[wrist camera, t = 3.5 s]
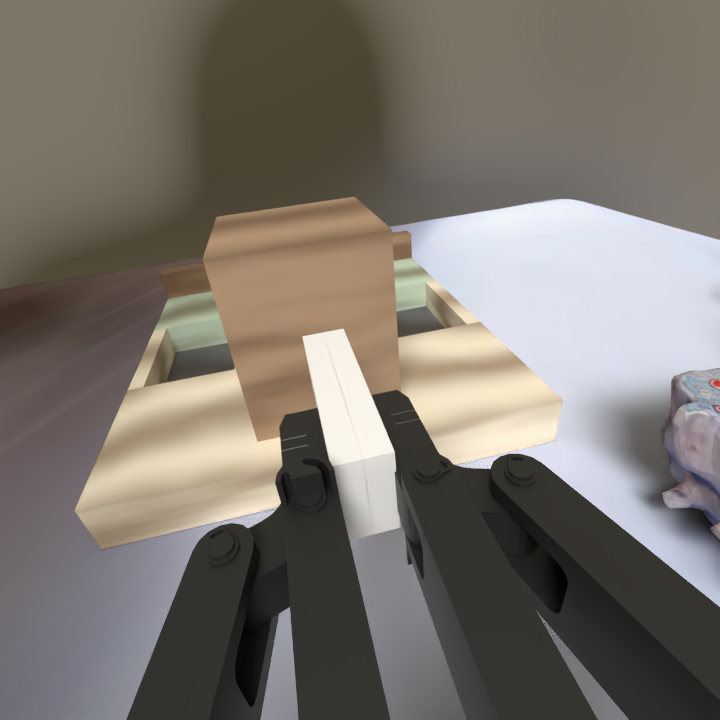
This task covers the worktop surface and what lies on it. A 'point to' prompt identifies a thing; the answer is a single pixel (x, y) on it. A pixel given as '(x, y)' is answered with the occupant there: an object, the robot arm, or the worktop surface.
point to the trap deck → (263, 459)
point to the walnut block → (302, 299)
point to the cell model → (695, 443)
